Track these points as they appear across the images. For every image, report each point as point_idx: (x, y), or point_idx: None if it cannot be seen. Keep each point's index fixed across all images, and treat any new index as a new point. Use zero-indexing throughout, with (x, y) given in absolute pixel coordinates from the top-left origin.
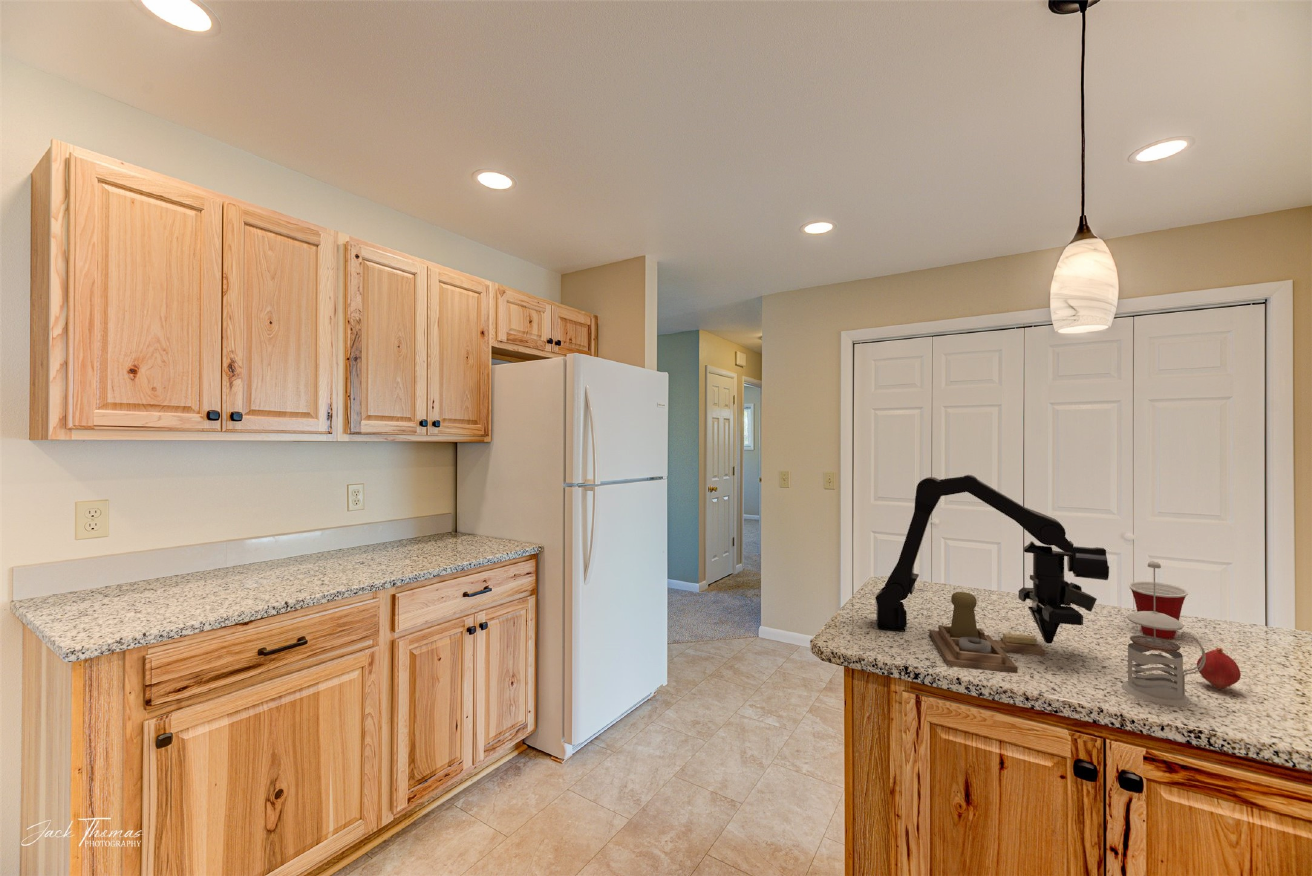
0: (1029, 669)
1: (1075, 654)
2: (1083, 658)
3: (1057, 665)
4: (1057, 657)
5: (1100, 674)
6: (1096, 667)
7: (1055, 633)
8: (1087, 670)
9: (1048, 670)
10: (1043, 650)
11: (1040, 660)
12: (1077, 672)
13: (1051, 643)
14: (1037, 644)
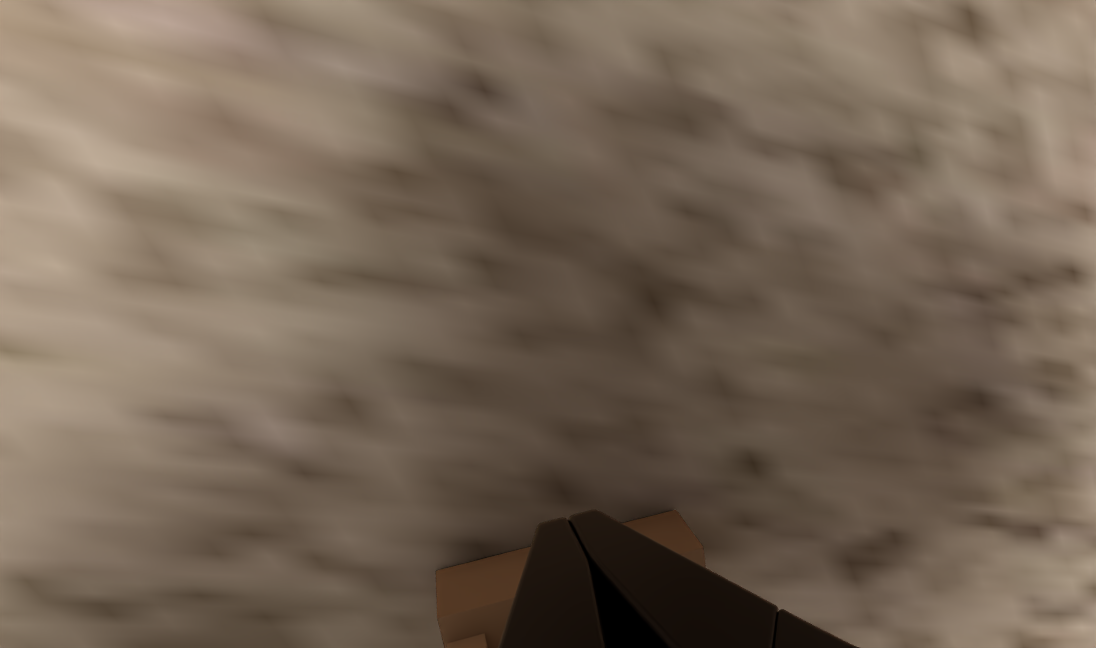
0: (1071, 644)
1: (440, 152)
2: (572, 84)
3: (918, 426)
4: (667, 393)
5: (1062, 44)
6: (860, 15)
7: (733, 584)
8: (980, 155)
9: (1061, 513)
10: (704, 565)
11: (827, 559)
12: (1056, 273)
13: (593, 510)
14: (485, 618)
